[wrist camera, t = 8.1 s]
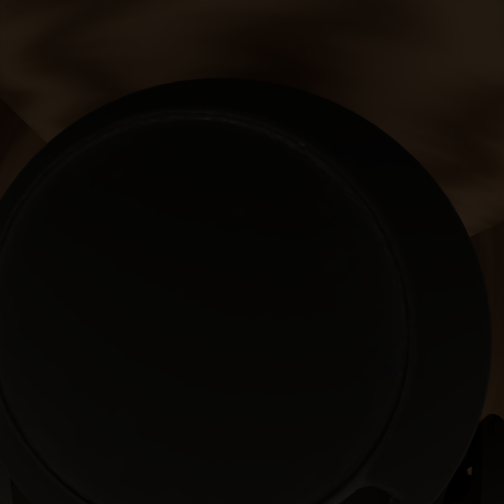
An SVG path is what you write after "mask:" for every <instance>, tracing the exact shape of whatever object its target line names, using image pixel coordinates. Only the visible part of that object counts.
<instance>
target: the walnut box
mask: <svg viewBox="0 0 504 504" xmlns="http://www.w3.org/2000/svg"><path fill="white" fill-rule="evenodd" d="M202 78H239V79H251V80H259V81H265V82H271V83H277V84H281V85H285V86H289V87H293V88H297V89H300V90H304V91H307V92H310V93H312V94H315V95H318V96H320V97H323V98H326V99H328V100H330V101H333V102H335V103H337V104H339V105H341V106H343V107H345V108H347V109H349V110H351V111H353V112H355V113H356V114H358V115H360V116H361V117H363V118H365V119H366V120H368V121H370V122H371V123H373V124H374V125H376V126H377V127H379V128H380V129H381V130H383V131H384V132H385V133H387V134H388V135H389V136H391V137H392V138H393V139H395V140H396V141H397V142H398V143H399V144H400V145H402V146H403V147H404V148H405V149H406V150H407V151H408V152H409V153H410V154H411V155H413V156H414V157H415V158H416V159H417V160H418V161H419V163H420V164H421V165H422V166H423V167H424V168H425V169H426V170H427V171H428V173H429V174H430V175H431V176H432V177H433V178H434V180H435V181H436V182H437V183H438V185H439V186H440V187H441V189H442V190H443V192H444V193H445V194H446V196H447V197H448V198H449V200H450V202H451V203H452V205H453V207H454V208H455V210H456V211H457V213H458V215H459V217H460V218H461V220H462V222H463V224H464V226H465V228H466V230H467V232H468V234H469V236H470V239H471V241H472V243H473V245H474V248H475V251H476V254H477V256H478V259H479V262H480V265H481V268H482V271H483V275H484V279H485V283H486V287H487V292H488V297H489V304H490V311H491V320H492V341H493V343H492V363H491V372H490V379H489V386H488V391H487V396H486V400H485V404H484V407H483V411H482V415H481V418H480V421H481V420H482V419H484V418H485V417H486V416H487V415H489V414H496V415H498V416H500V417H501V418H502V419H503V420H504V0H0V199H1V198H2V196H3V195H4V193H5V191H6V190H7V188H8V187H9V186H10V184H11V183H12V182H13V180H14V179H15V178H16V176H17V175H18V174H19V172H20V171H21V170H22V169H23V168H24V167H25V165H26V164H27V163H28V162H29V161H30V160H31V159H32V158H33V157H34V155H35V154H36V153H37V152H39V151H40V150H41V149H42V148H43V147H44V146H45V145H46V144H47V143H48V142H49V141H50V140H51V139H53V138H54V137H55V136H56V135H58V134H59V133H60V132H62V131H63V130H64V129H65V128H67V127H68V126H69V125H71V124H72V123H74V122H75V121H77V120H79V119H80V118H82V117H83V116H85V115H86V114H88V113H90V112H92V111H94V110H95V109H97V108H99V107H101V106H103V105H105V104H107V103H109V102H111V101H114V100H116V99H118V98H121V97H123V96H126V95H128V94H131V93H134V92H137V91H140V90H143V89H147V88H150V87H153V86H157V85H162V84H167V83H172V82H177V81H183V80H192V79H202ZM468 474H469V475H471V474H472V467H470V468H468Z"/></svg>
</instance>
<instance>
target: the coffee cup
mask: <svg viewBox="0 0 504 504" xmlns="http://www.w3.org/2000/svg"><path fill="white" fill-rule="evenodd" d="M492 343H493V341H492V320H491V311H490V304H489V297H488V292H487V287H486V283H485V279H484V275H483V271H482V268H481V265H480V262H479V259H478V256H477V254H476V251H475V248H474V245H473V243H472V241H471V239H470V236H469V234H468V232H467V230H466V228H465V226H464V224H463V222H462V220H461V218H460V217H459V215H458V213H457V211H456V210H455V208H454V207H453V205H452V203H451V202H450V200H449V198H448V197H447V196H446V194H445V193H444V192H443V190H442V189H441V187H440V186H439V185H438V183H437V182H436V181H435V180H434V178H433V177H432V176H431V175H430V174H429V173H428V171H427V170H426V169H425V168H424V167H423V166H422V165H421V164H420V163H419V161H418V160H417V159H416V158H415V157H414V156H413V155H411V154H410V153H409V152H408V151H407V150H406V149H405V148H404V147H403V146H402V145H400V144H399V143H398V142H397V141H396V140H395V139H393V138H392V137H391V136H389V135H388V134H387V133H385V132H384V131H383V130H381V129H380V128H379V127H377V126H376V125H374V124H373V123H371V122H370V121H368V120H366V119H365V118H363V117H361V116H360V115H358V114H356V113H355V112H353V111H351V110H349V109H347V108H345V107H343V106H341V105H339V104H337V103H335V102H333V101H330V100H328V99H326V98H323V97H320V96H318V95H315V94H312V93H310V92H307V91H304V90H300V89H297V88H293V87H289V86H285V85H281V84H277V83H271V82H265V81H259V80H251V79H239V78H202V79H192V80H183V81H177V82H172V83H167V84H162V85H157V86H153V87H150V88H147V89H143V90H140V91H137V92H134V93H131V94H128V95H126V96H123V97H121V98H118V99H116V100H114V101H111V102H109V103H107V104H105V105H103V106H101V107H99V108H97V109H95V110H94V111H92V112H90V113H88V114H86V115H85V116H83V117H82V118H80V119H79V120H77V121H75V122H74V123H72V124H71V125H69V126H68V127H67V128H65V129H64V130H63V131H62V132H60V133H59V134H58V135H56V136H55V137H54V138H53V139H51V140H50V141H49V142H48V143H47V144H46V145H45V146H44V147H43V148H42V149H41V150H40V151H39V152H37V153H36V154H35V155H34V157H33V158H32V159H31V160H30V161H29V162H28V163H27V164H26V165H25V167H24V168H23V169H22V170H21V171H20V172H19V174H18V175H17V176H16V178H15V179H14V180H13V182H12V183H11V184H10V186H9V187H8V188H7V190H6V191H5V193H4V195H3V196H2V198H1V199H0V462H1V463H2V465H3V466H4V468H5V470H6V471H7V473H8V474H9V476H10V477H11V479H12V480H13V481H14V483H15V484H16V485H17V487H18V488H19V489H20V491H21V492H22V493H23V495H24V496H25V497H26V498H27V499H28V500H29V501H30V503H31V504H432V503H433V502H434V501H435V500H436V499H437V498H438V496H439V495H440V494H441V492H442V491H443V490H444V488H445V487H446V485H447V484H448V483H449V481H450V480H451V478H452V477H453V475H454V473H455V472H456V470H457V469H458V467H459V465H460V463H461V462H462V460H463V458H464V456H465V454H466V452H467V450H468V448H469V446H470V444H471V441H472V439H473V437H474V434H475V432H476V429H477V426H478V423H479V421H480V418H481V415H482V411H483V407H484V404H485V400H486V396H487V391H488V386H489V379H490V372H491V363H492Z"/></svg>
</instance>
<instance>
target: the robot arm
mask: <svg viewBox="0 0 504 504" xmlns="http://www.w3.org/2000/svg"><path fill="white" fill-rule="evenodd" d="M470 467H472V474H471V475H469V474H468V468H470ZM0 504H31V503H30V501H29V500H28V499H27V498H26V497H25V496H24V495H23V493H22V492H21V491H20V489H19V488H18V487H17V485H16V484H15V483H14V481H13V480H12V479H11V477H10V476H9V474H8V473H7V471H6V470H5V468H4V466H3V465H2V463H1V462H0ZM432 504H504V420H503V419H502V418H501V417H500V416H498V415H496V414H489V415H487V416H486V417H485V418H484V419H482V420H481V421H479V423H478V426H477V429H476V432H475V434H474V437H473V439H472V441H471V444H470V446H469V448H468V450H467V452H466V454H465V456H464V458H463V460H462V462H461V463H460V465H459V467H458V469H457V470H456V472H455V473H454V475H453V477H452V478H451V480H450V481H449V483H448V484H447V485H446V487H445V488H444V490H443V491H442V492H441V494H440V495H439V496H438V498H437V499H436V500H435V501H434V502H433V503H432Z"/></svg>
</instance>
